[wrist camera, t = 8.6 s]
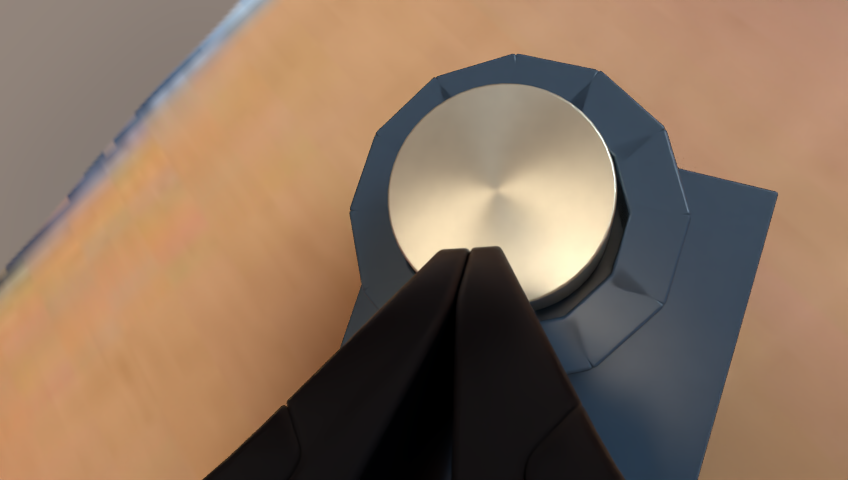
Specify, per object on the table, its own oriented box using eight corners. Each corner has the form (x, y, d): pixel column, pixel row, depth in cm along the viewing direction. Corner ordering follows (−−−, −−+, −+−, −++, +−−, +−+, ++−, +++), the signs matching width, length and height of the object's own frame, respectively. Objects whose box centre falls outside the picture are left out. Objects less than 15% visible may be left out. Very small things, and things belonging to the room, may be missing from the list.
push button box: (639, 558, 18) (669, 671, 12) (354, 440, 20) (255, 480, 14) (744, 191, 19) (825, 114, 13) (459, 122, 21) (409, 30, 15)
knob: (577, 340, 13) (576, 339, 11) (392, 279, 15) (357, 267, 12) (636, 148, 14) (646, 110, 12) (450, 104, 15) (426, 62, 13)
